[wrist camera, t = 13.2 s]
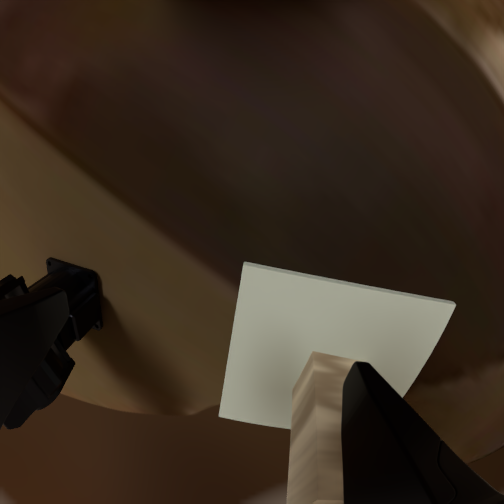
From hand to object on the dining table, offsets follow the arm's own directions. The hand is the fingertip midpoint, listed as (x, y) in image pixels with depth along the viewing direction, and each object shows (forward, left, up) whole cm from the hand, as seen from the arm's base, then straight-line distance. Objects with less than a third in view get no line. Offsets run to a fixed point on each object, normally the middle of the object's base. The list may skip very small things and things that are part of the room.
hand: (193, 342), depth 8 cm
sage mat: (+9, -12, -13) cm, 20 cm away
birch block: (+9, -12, -12) cm, 19 cm away
